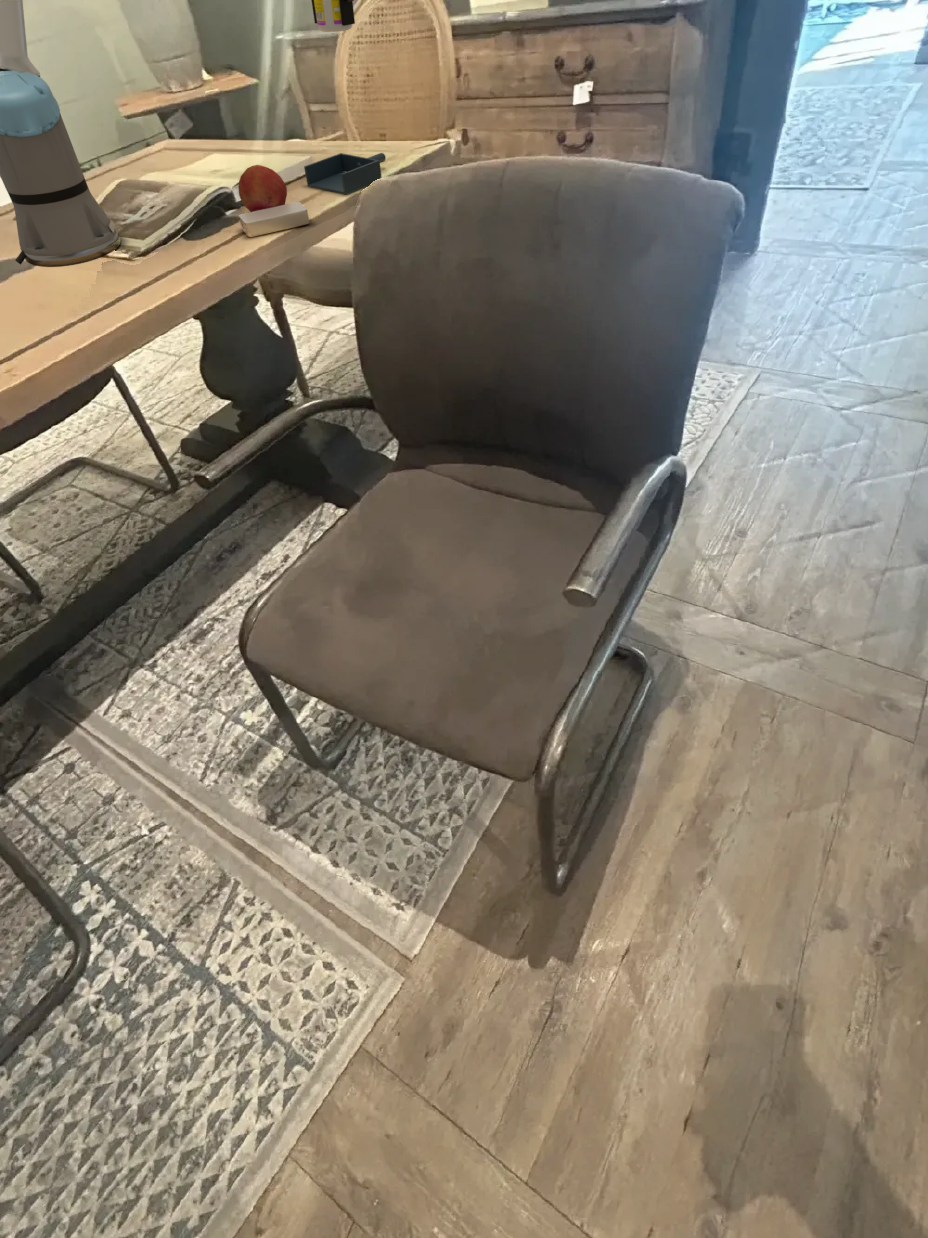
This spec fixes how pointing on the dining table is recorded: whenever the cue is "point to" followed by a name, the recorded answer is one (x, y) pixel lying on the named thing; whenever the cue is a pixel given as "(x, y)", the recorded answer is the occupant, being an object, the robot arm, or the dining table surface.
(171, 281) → the dining table surface
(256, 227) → the multiport hub
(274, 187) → the fruit
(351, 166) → the scoop
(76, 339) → the dining table surface
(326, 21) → the supplement bottle
